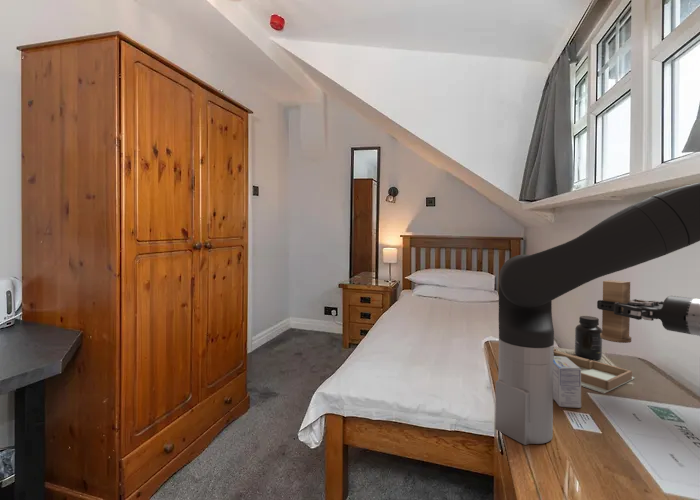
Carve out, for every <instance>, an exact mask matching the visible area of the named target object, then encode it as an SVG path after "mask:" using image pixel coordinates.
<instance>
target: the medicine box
mask: <svg viewBox="0 0 700 500" xmlns="http://www.w3.org/2000/svg"><path fill="white" fill-rule="evenodd" d="M553 401H555V403H556V404H557V405H558V407H562V408H572V409H573V408H574V409H575V408H576V409H581V408H582V386H581V369H580V368H579V367H578V366H577V365H575V364H574V363H573V362H572V361H571V360H569V359H568V358H567V357H562V356H554V361H553Z"/></svg>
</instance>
